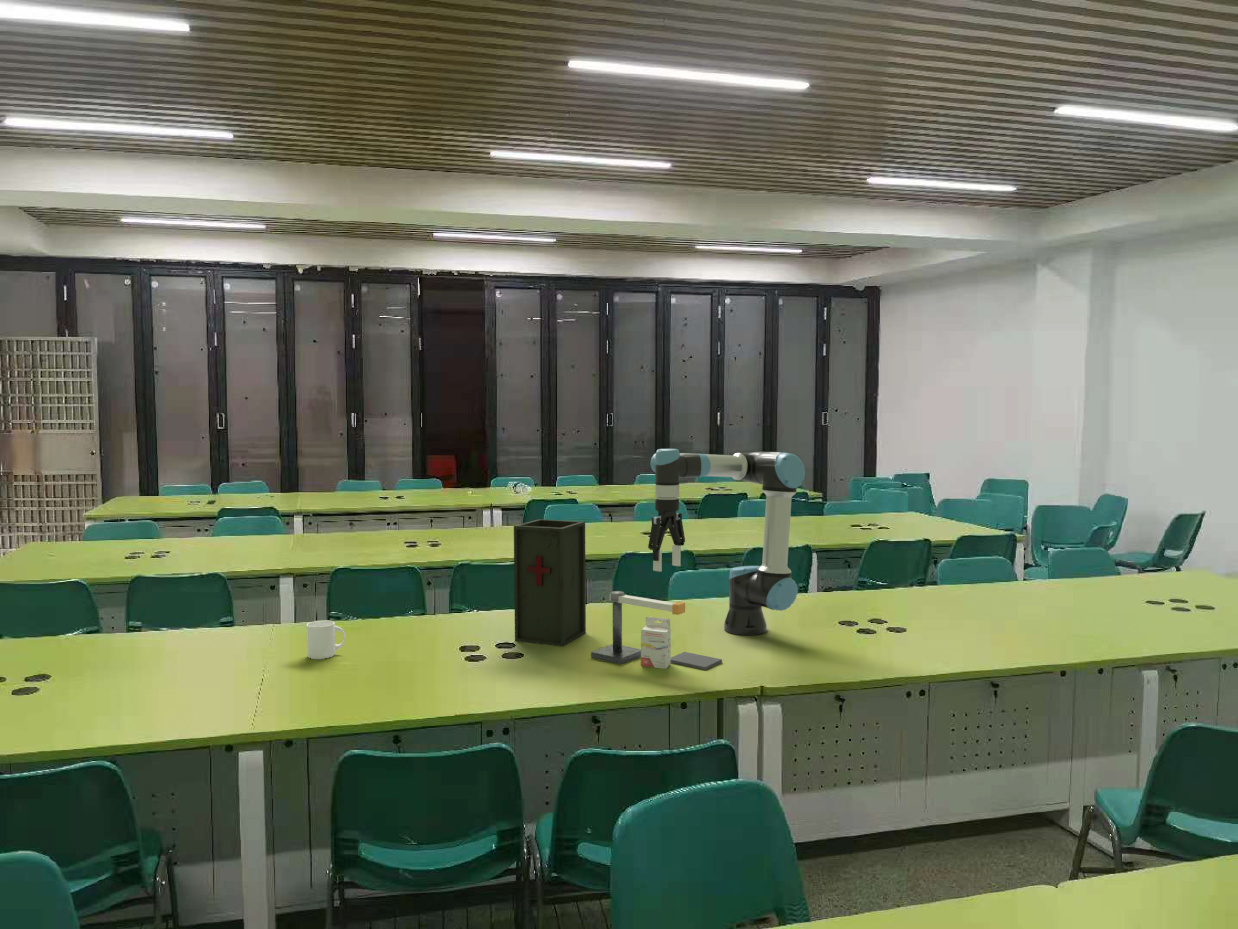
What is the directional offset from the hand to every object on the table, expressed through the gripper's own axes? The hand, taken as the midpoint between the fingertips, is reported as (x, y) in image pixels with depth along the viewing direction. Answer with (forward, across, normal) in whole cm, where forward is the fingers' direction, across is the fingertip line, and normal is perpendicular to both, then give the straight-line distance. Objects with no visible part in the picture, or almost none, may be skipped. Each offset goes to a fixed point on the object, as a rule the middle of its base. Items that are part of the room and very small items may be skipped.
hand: (667, 568), depth 271 cm
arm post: (+30, +6, -15) cm, 34 cm away
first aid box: (+30, +1, -48) cm, 57 cm away
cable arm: (+12, +6, -4) cm, 14 cm away
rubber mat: (+30, -4, +8) cm, 31 cm away
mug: (+30, +61, -92) cm, 114 cm away
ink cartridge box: (+30, +6, 0) cm, 31 cm away
